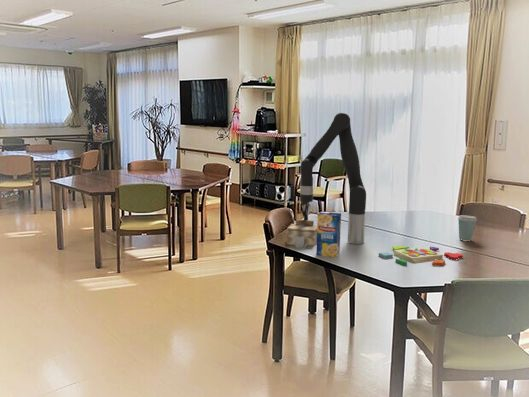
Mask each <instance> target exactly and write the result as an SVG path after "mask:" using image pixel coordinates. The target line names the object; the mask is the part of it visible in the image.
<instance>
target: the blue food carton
mask: <svg viewBox="0 0 529 397" xmlns="http://www.w3.org/2000/svg"><path fill="white" fill-rule="evenodd" d="M341 224H342V213H339V212H329V211H320V212H318V213H317V222H316V226H317V243H316V249H315V250H316V251H315V252H316V254H315V255H316V256H321V255H322V257H329V256H331V257H332V258H337V257H338V256H339V255H340V248H341V226H342V225H341ZM331 257H330V258H331Z"/></svg>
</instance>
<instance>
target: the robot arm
mask: <svg viewBox="0 0 529 397" xmlns="http://www.w3.org/2000/svg"><path fill="white" fill-rule="evenodd" d="M351 125H352V124H351V117H350V115H349V114H348V113H346V112H338V113H337V114H335V116H334V118H333V119H332V122H331V124H330V125H329V128H328V129H326V132H325V133H324V134H323V135H322V136H321V137H320V139H318V141H317V142H316V143H315V144H314V146H313V147H312V149H311V150H310V151H309V154H308V155H306V156H305V158H304V159H303V160H302V161H301V162H300V175H301V176H300V188H299V201H300V202H302V206H301V207H302V208H301V212H302V216H303V220H309V215H310V211H311V203H312V202H313V201H314V177H313V168H315V166H316V165H317V163H318V161H319V160H320V159H321V158H322V157H323V156H324V155H325V153H326V152H327V151H328V149H329V148H330V146H331V145H332V143H333V142H334V141H335V140H336V138H337V137H338V138H339V149H340V156H341V161H342V164H343V168H344V171H345V174H346V176H347V180H348V187H349V189H348V190H349V198H348V200H349V202H348V221H347V222H348V223H347V243H349V244H353V245H363V244H364V243H365V229H366V226H365V223H366V220H365V219H366V206H367V191H366V188H365V185H364V183H363V179H362V175H361V165H360V159H359V154H358V150H357V147H356V143H355V141H354V138H353V135H352V126H351Z"/></svg>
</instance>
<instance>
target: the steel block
mask: <svg viewBox="0 0 529 397" xmlns="http://www.w3.org/2000/svg"><path fill="white" fill-rule="evenodd" d="M294 246H295V247H294V248H295V249H302V248H304V249H305V247H306V246H305V236H297V237H296V245H294Z"/></svg>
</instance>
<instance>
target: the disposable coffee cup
mask: <svg viewBox="0 0 529 397" xmlns="http://www.w3.org/2000/svg"><path fill="white" fill-rule="evenodd" d="M457 219H458V220H457V221H458V238H459V240H460V239H462V240H471V241H472V239H473V235H474V232H475V228H476V225H477V221H478V218H477V217H476V216H472V215H468V214H467V215H465V214H463V215H462V214H460V215H459V216H458V218H457Z"/></svg>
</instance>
